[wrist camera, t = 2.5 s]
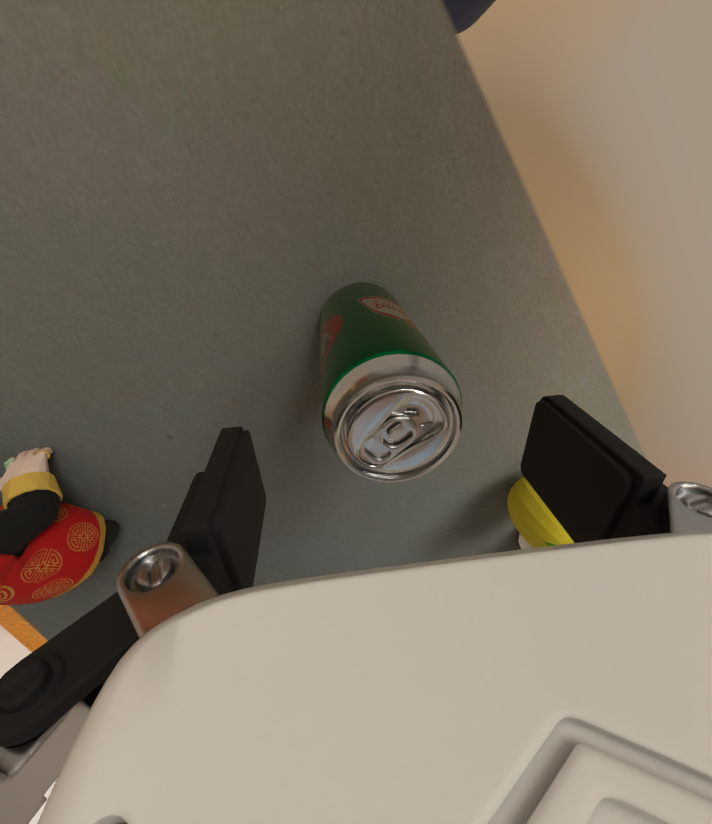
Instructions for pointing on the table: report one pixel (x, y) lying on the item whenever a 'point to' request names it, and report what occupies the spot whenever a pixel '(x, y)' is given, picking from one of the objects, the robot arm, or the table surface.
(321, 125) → the table surface
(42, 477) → the figurine
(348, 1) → the table surface
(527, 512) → the lemon
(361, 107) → the table surface
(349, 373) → the soda can
